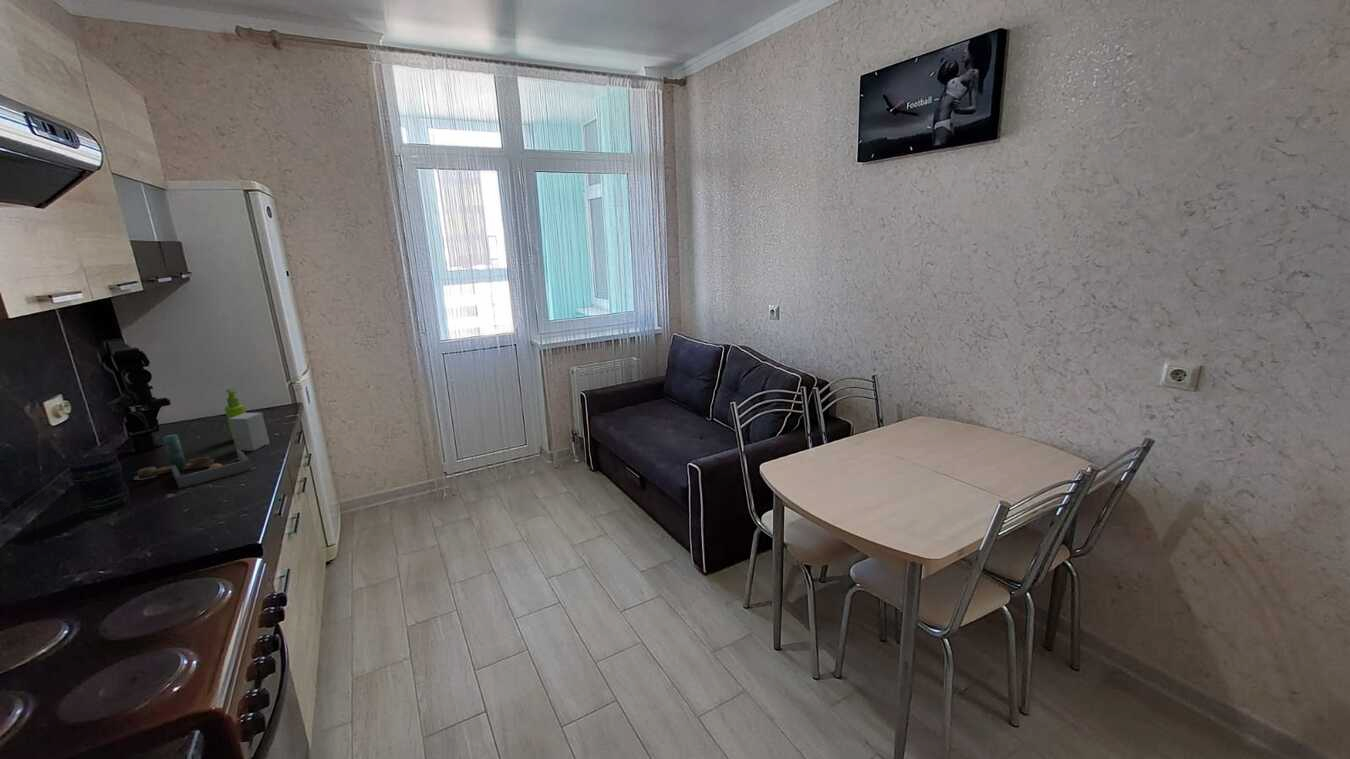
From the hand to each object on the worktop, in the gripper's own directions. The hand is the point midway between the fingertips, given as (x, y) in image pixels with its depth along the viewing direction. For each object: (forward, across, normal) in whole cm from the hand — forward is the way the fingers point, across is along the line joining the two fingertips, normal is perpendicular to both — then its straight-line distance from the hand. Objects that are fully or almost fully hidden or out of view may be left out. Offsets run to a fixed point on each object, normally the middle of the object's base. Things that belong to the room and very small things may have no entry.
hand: (151, 428), depth 187 cm
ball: (+15, +32, -3) cm, 36 cm away
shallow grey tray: (+16, +28, -1) cm, 32 cm away
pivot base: (+14, +10, -9) cm, 19 cm away
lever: (+14, +15, -4) cm, 21 cm away
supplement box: (+14, +18, +19) cm, 30 cm away
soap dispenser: (+12, +4, +24) cm, 27 cm away
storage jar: (+17, +24, -27) cm, 40 cm away
